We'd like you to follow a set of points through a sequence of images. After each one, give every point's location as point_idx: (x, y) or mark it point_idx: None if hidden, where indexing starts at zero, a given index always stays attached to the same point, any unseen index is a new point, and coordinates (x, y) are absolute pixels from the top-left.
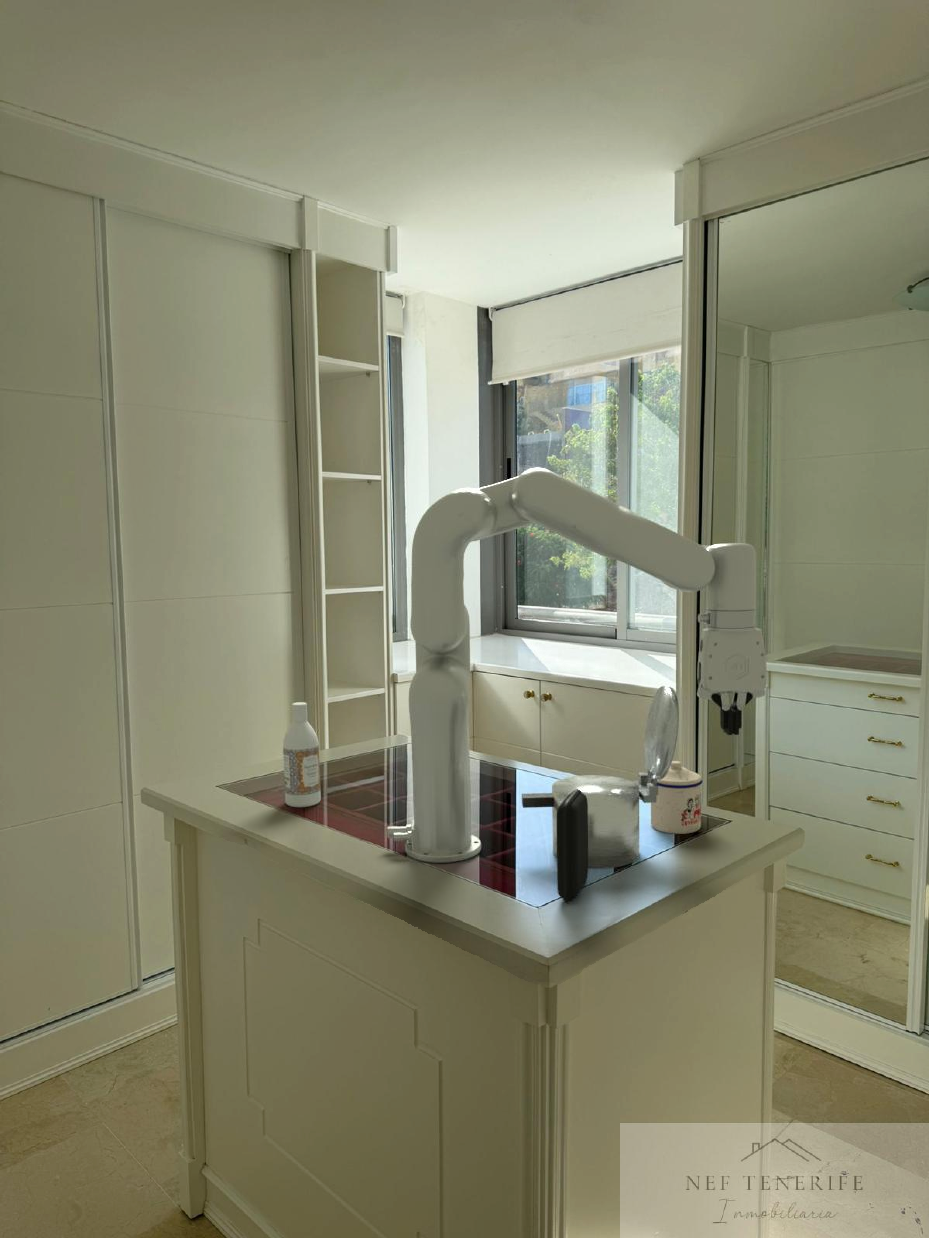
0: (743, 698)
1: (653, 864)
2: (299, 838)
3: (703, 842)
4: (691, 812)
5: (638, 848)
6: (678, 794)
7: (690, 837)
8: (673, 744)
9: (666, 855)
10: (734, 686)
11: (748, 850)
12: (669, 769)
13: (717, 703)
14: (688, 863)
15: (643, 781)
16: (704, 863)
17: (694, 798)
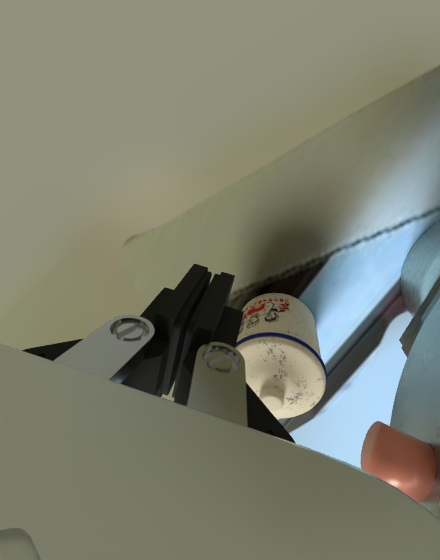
0: (83, 358)
1: (429, 187)
2: None
3: (277, 251)
4: (269, 308)
5: (438, 231)
6: (295, 331)
7: (283, 277)
8: None
9: (375, 219)
10: (120, 437)
11: (229, 193)
12: (289, 392)
13: (263, 406)
14: (365, 171)
15: None
16: (338, 161)
17: (261, 321)
